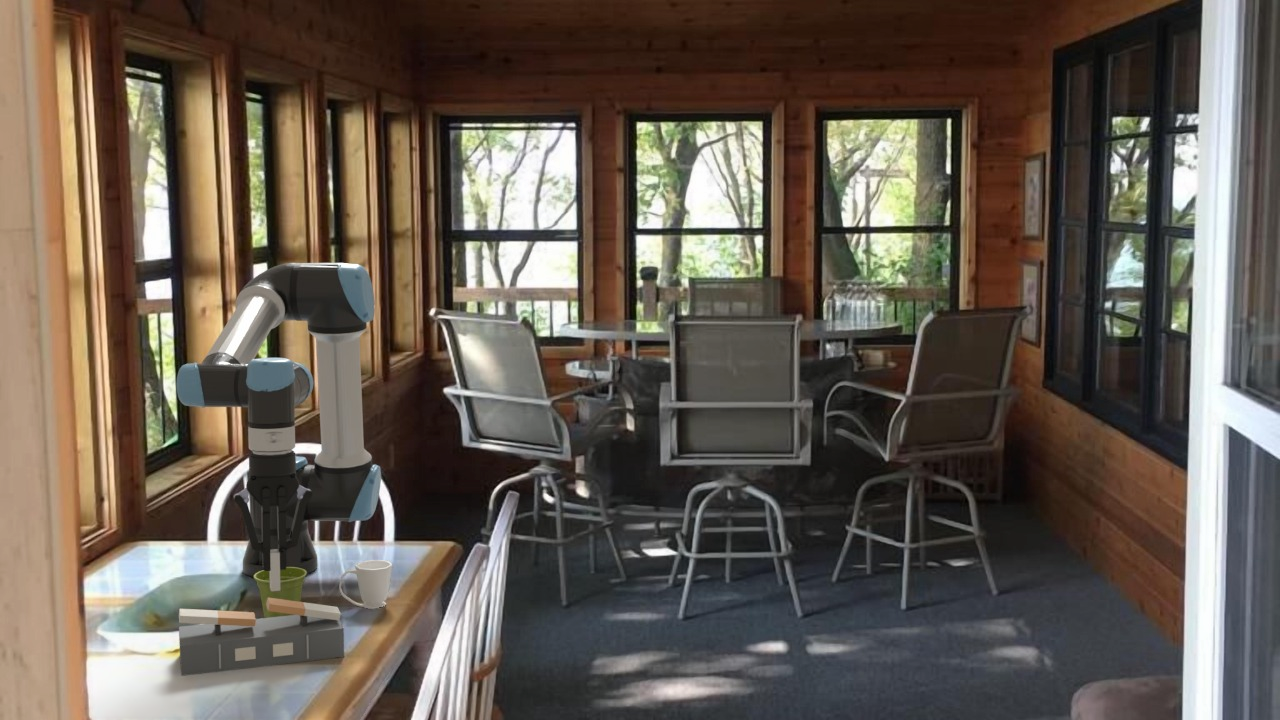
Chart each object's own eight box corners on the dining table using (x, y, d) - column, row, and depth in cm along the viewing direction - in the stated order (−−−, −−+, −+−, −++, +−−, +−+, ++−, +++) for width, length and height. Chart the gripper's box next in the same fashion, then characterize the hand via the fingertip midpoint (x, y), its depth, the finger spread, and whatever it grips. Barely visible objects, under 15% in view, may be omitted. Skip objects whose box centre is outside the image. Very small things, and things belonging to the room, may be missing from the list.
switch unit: (179, 655, 217) (178, 617, 217) (336, 638, 227) (335, 602, 226) (181, 676, 208) (180, 636, 207) (344, 657, 217) (343, 619, 216)
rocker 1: (178, 615, 214) (179, 608, 214) (252, 619, 218) (253, 612, 218) (179, 622, 210) (180, 615, 210) (254, 626, 214) (255, 619, 214)
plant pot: (260, 630, 231) (259, 583, 230) (250, 615, 239) (249, 570, 238) (313, 623, 235) (312, 577, 234) (301, 608, 243) (300, 564, 242)
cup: (392, 610, 243) (391, 569, 242) (338, 612, 241) (337, 570, 240) (393, 599, 250) (393, 559, 249) (341, 601, 248) (340, 560, 247)
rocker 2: (266, 604, 219) (267, 597, 219) (335, 613, 223) (337, 606, 223) (268, 611, 215) (269, 604, 215) (339, 620, 219) (340, 613, 219)
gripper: (232, 457, 208) (236, 598, 211) (314, 452, 213) (317, 591, 215) (229, 449, 215) (233, 586, 218) (309, 445, 220) (312, 579, 222)
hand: (275, 588), depth 217 cm, fingers closed
